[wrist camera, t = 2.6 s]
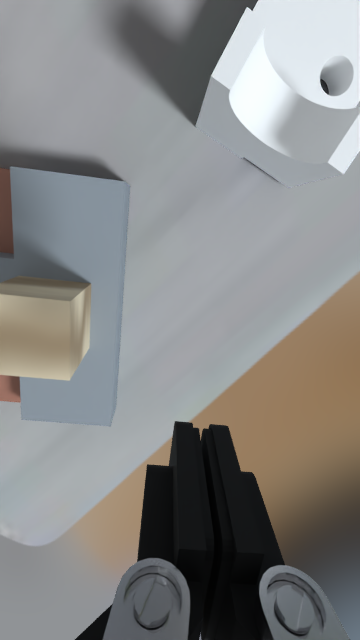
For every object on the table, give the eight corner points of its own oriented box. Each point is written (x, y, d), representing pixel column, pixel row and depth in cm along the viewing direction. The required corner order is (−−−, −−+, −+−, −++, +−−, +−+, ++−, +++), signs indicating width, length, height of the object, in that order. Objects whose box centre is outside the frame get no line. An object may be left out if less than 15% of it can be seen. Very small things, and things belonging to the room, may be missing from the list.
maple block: (19, 275, 19) (-24, 291, 15) (91, 283, 20) (70, 301, 15) (21, 341, 21) (-16, 373, 16) (89, 347, 21) (69, 380, 17)
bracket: (283, 189, 21) (343, 174, 14) (194, 128, 20) (211, 75, 12) (416, -20, 18) (585, -182, 11) (321, -111, 16) (442, -368, 9)
